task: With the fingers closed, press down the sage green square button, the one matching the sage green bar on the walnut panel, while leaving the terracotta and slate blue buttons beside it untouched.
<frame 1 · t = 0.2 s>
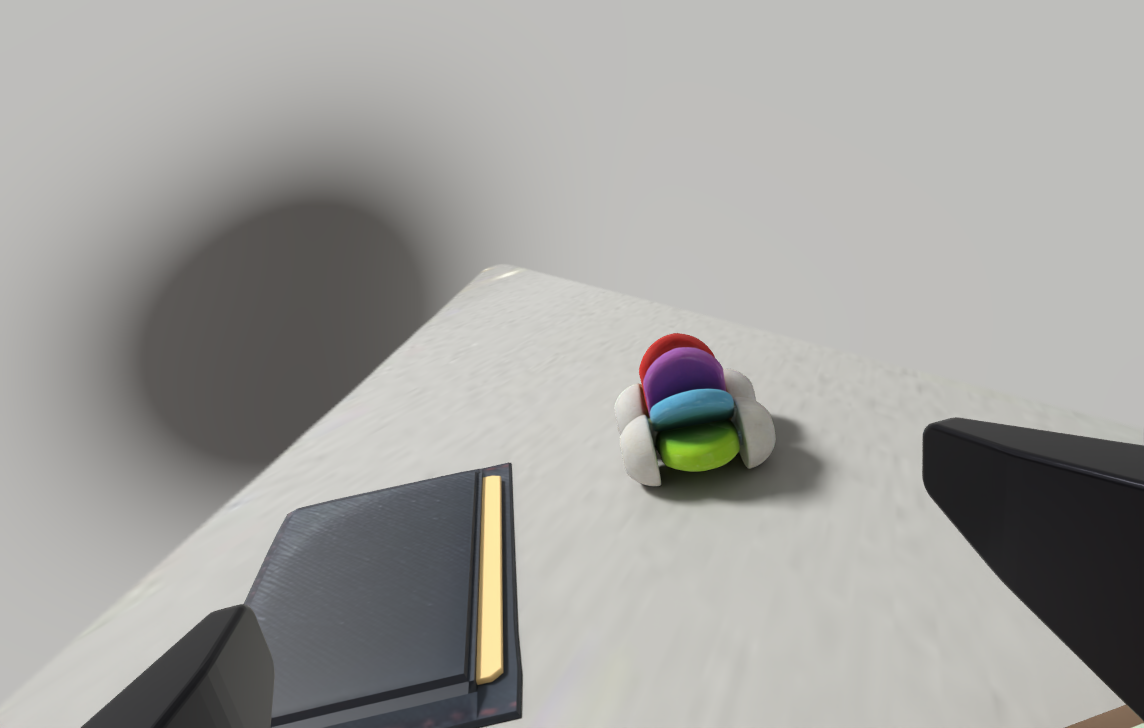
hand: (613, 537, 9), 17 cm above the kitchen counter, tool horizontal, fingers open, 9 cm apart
wallet: (380, 603, 36), on the kitchen counter
chunky multicolored toy: (694, 456, 42), on the kitchen counter
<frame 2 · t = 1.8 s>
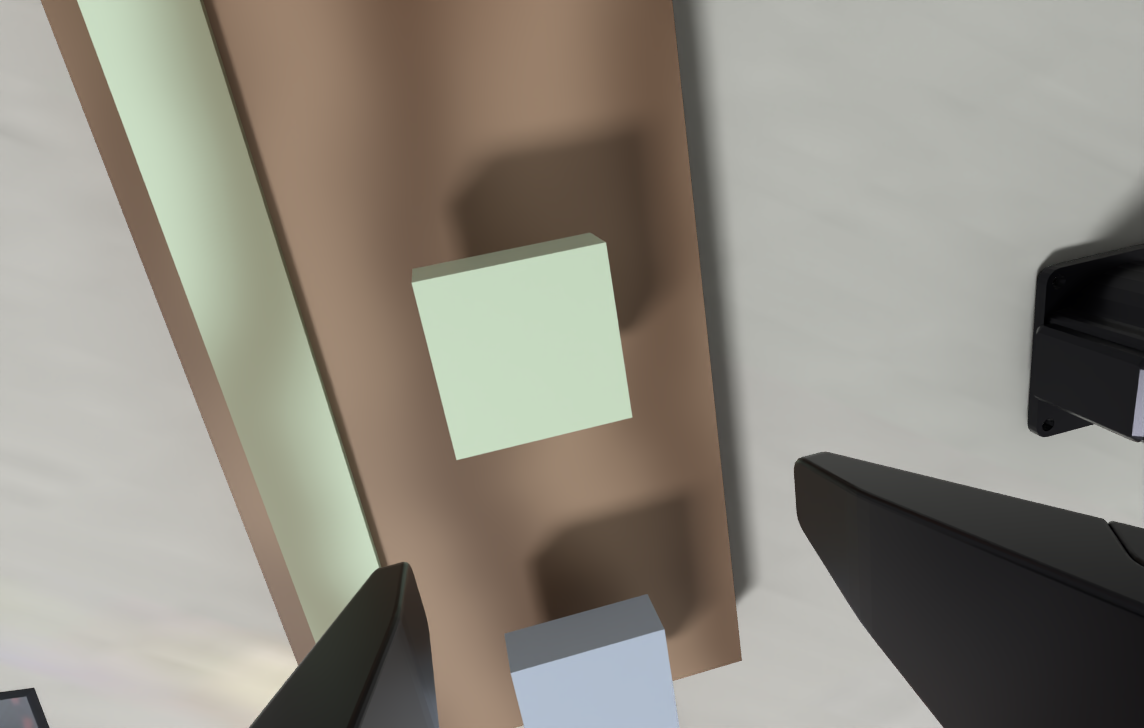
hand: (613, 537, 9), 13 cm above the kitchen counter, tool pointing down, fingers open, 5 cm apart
button panel: (455, 313, 21), on the kitchen counter
slate blue button: (594, 690, 21), point 4 cm above the kitchen counter, slide at 0.0 cm
sage green button: (524, 344, 17), point 4 cm above the kitchen counter, slide at 0.0 cm
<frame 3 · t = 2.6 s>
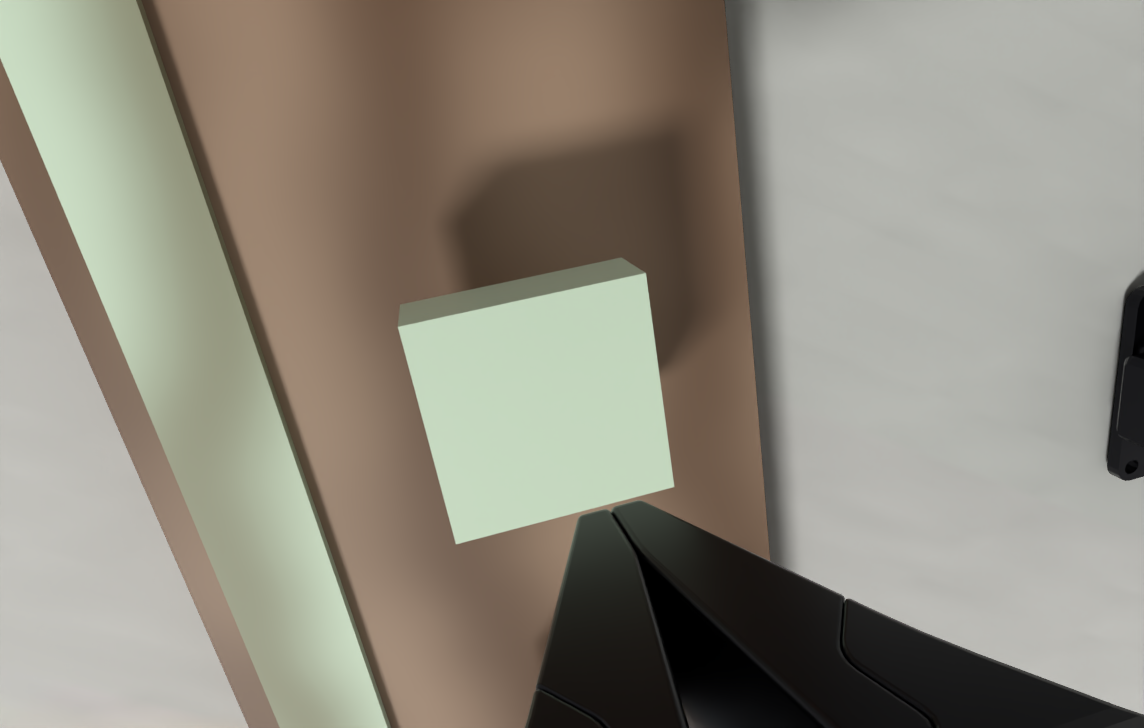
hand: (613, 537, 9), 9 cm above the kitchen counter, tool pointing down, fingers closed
button panel: (453, 348, 18), on the kitchen counter
sage green button: (540, 397, 14), point 4 cm above the kitchen counter, slide at 0.0 cm
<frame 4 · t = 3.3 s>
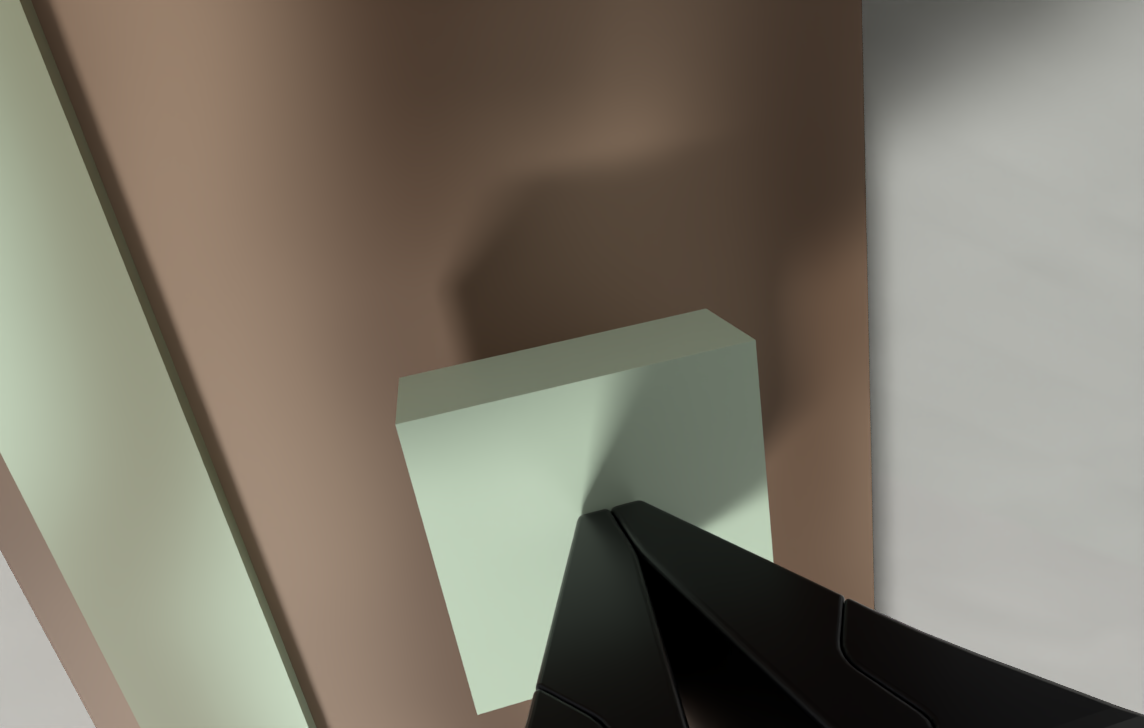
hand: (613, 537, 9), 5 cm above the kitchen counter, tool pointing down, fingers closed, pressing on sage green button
button panel: (470, 420, 13), on the kitchen counter
sage green button: (594, 506, 10), point 4 cm above the kitchen counter, slide at 0.4 cm, touching gripper
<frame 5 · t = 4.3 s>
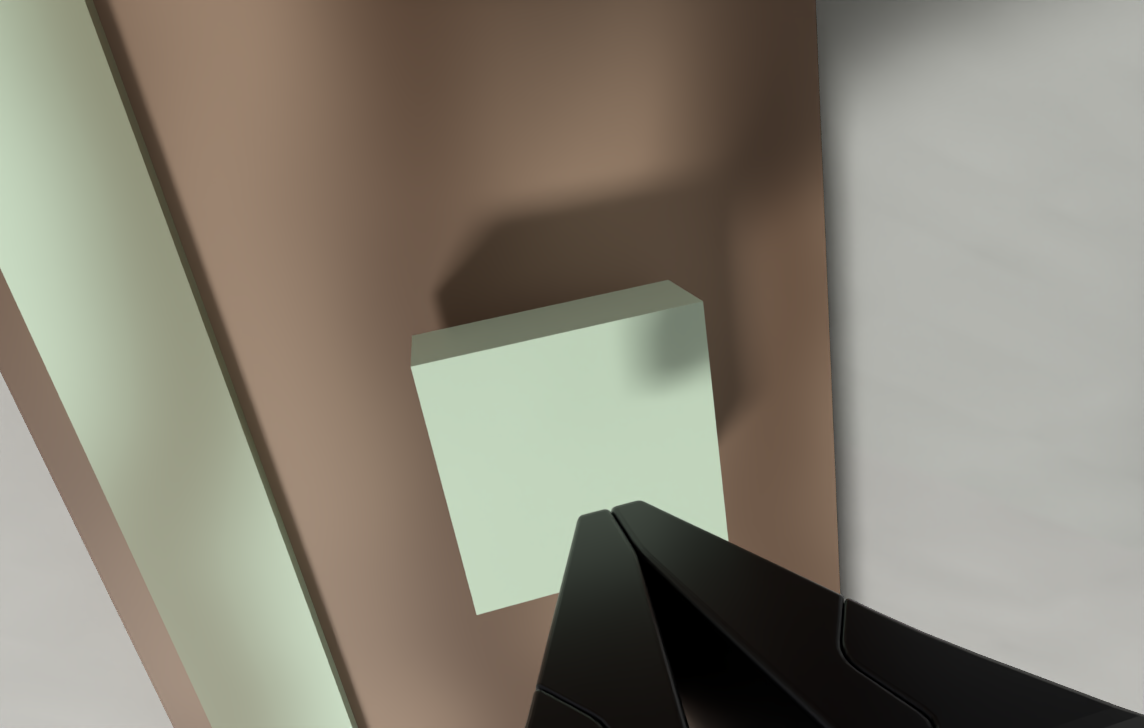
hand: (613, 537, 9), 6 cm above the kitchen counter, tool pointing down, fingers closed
button panel: (472, 391, 15), on the kitchen counter
sage green button: (574, 443, 12), point 3 cm above the kitchen counter, slide at 1.0 cm
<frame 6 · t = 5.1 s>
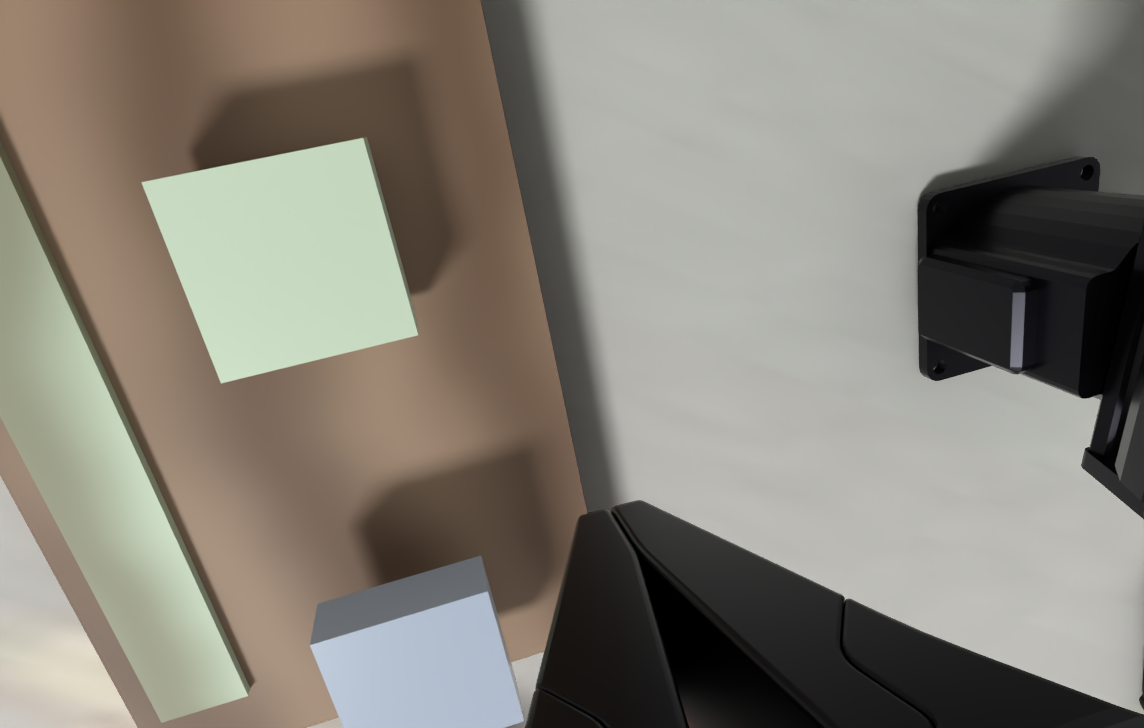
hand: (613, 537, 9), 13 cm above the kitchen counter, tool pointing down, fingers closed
button panel: (256, 248, 19), on the kitchen counter
slate blue button: (422, 663, 19), point 4 cm above the kitchen counter, slide at 0.0 cm
sage green button: (295, 257, 16), point 3 cm above the kitchen counter, slide at 1.0 cm
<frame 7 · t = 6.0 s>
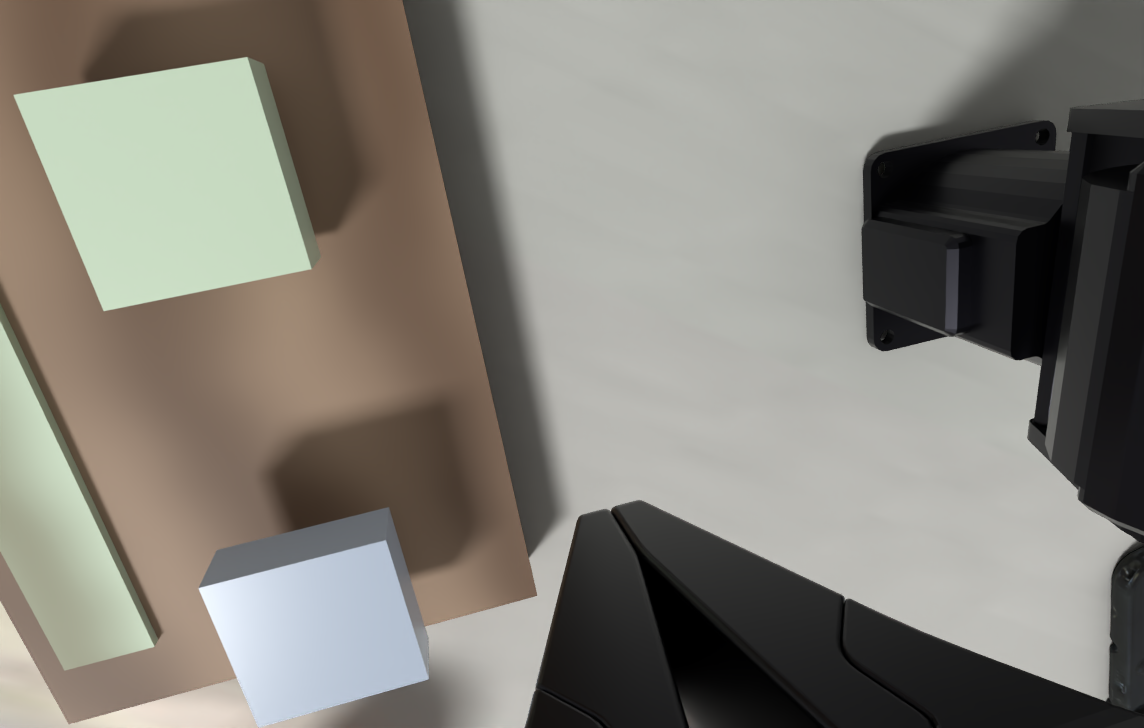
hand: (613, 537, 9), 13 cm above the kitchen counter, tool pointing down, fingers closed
button panel: (166, 186, 18), on the kitchen counter
slate blue button: (324, 615, 18), point 4 cm above the kitchen counter, slide at 0.0 cm
sage green button: (185, 185, 15), point 3 cm above the kitchen counter, slide at 1.0 cm
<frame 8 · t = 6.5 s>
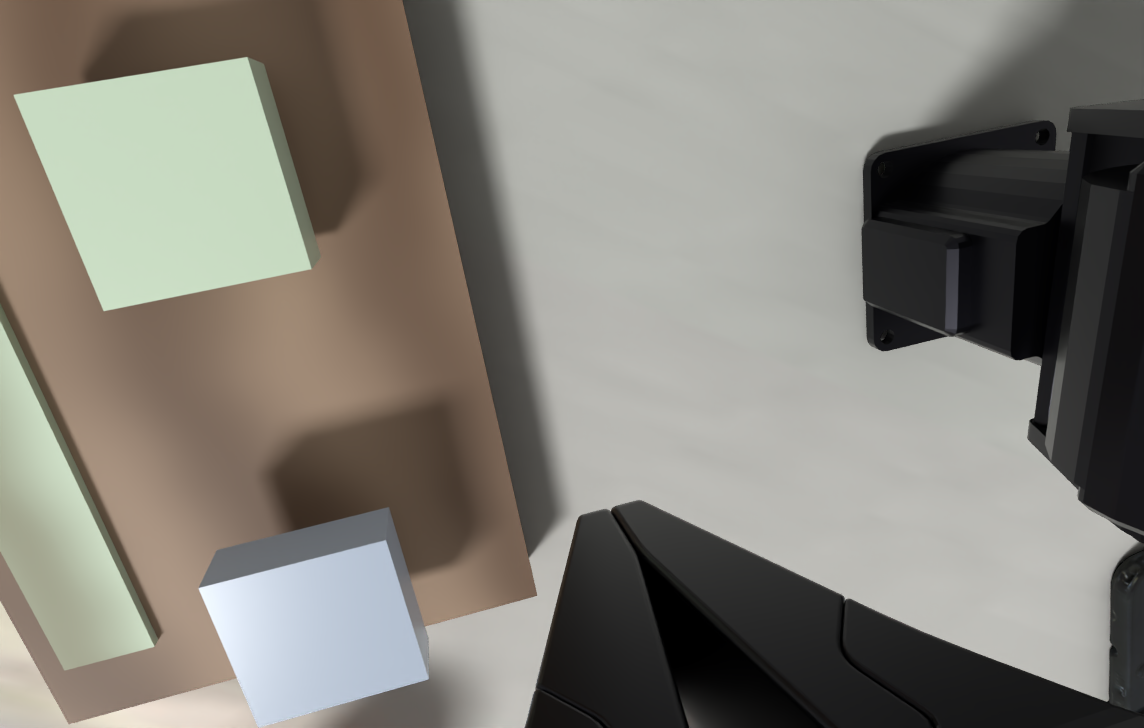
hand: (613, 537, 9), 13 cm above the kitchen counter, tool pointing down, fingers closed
button panel: (166, 186, 18), on the kitchen counter
slate blue button: (324, 615, 18), point 4 cm above the kitchen counter, slide at 0.0 cm
sage green button: (185, 185, 15), point 3 cm above the kitchen counter, slide at 1.0 cm
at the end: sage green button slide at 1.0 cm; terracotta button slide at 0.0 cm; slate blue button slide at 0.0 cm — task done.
